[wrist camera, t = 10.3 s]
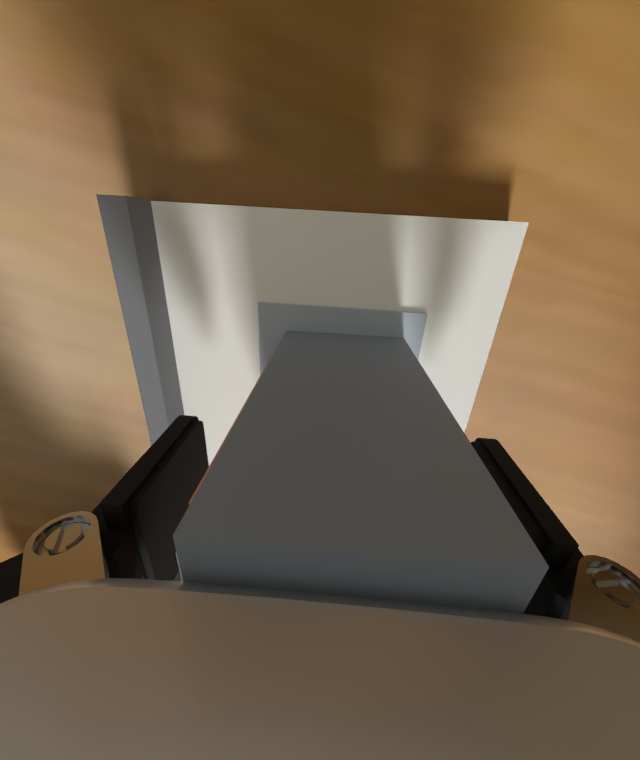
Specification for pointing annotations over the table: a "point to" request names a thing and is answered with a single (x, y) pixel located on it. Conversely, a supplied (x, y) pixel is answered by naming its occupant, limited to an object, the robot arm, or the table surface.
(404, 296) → the shelf board
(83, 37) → the table surface
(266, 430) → the box
